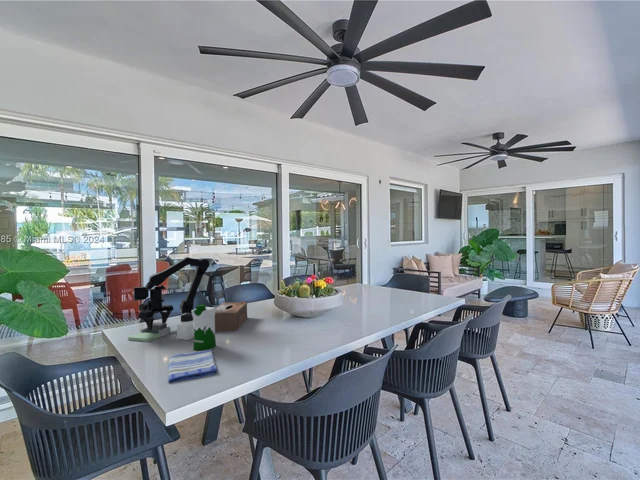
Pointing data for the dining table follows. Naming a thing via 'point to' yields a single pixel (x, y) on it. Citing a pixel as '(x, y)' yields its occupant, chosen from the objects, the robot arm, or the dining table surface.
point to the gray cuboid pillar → (157, 327)
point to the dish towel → (191, 366)
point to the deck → (148, 335)
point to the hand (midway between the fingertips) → (157, 327)
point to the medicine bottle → (185, 327)
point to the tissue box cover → (230, 316)
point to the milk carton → (204, 327)
